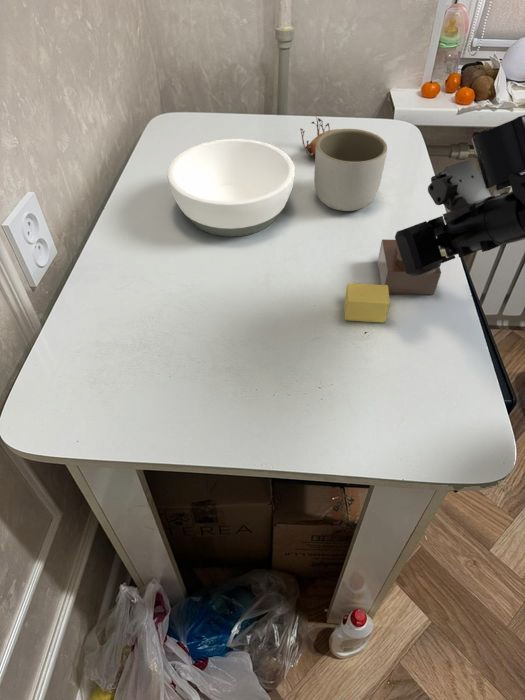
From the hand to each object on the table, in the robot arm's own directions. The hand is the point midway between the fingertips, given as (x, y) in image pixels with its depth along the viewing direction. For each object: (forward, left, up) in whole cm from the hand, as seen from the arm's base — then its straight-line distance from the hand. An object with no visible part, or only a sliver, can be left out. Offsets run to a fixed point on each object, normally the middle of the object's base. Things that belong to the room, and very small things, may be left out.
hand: (421, 244), depth 75 cm
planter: (+16, -20, -8) cm, 26 cm away
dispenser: (+1, -1, -7) cm, 8 cm away
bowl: (+35, -10, -8) cm, 37 cm away
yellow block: (+6, +9, -7) cm, 13 cm away
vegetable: (+21, -37, -8) cm, 43 cm away
